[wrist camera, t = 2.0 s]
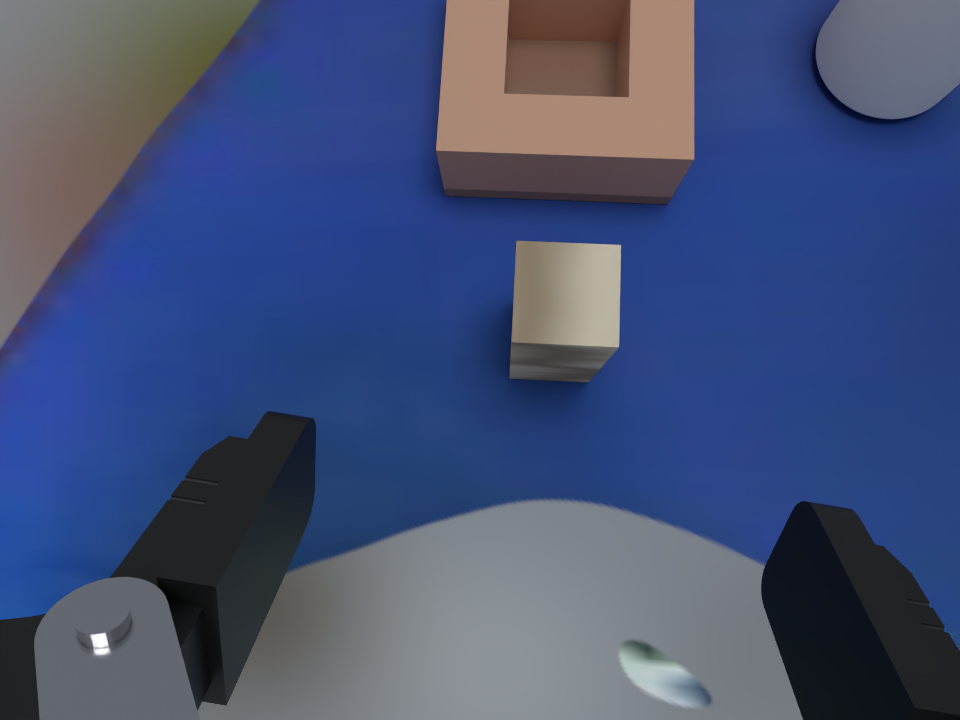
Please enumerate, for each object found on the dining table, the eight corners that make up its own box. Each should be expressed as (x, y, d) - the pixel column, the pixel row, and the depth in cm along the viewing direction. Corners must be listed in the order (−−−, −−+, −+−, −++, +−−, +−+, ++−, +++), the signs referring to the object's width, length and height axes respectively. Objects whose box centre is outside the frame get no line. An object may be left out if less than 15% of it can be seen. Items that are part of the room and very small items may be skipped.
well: (668, 5, 41) (693, -67, 36) (667, 204, 39) (694, 159, 33) (458, 0, 42) (452, -72, 36) (445, 195, 39) (436, 150, 34)
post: (590, 305, 38) (621, 245, 28) (588, 382, 37) (619, 347, 27) (513, 302, 38) (516, 240, 28) (509, 378, 37) (511, 342, 28)
